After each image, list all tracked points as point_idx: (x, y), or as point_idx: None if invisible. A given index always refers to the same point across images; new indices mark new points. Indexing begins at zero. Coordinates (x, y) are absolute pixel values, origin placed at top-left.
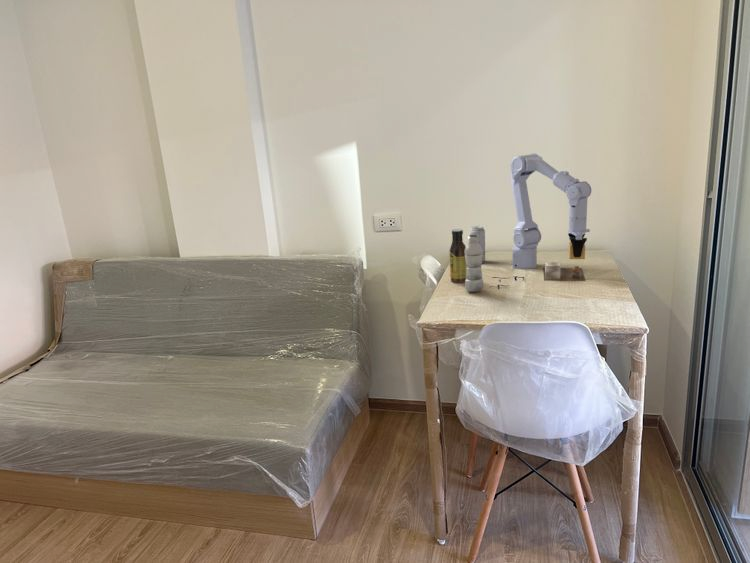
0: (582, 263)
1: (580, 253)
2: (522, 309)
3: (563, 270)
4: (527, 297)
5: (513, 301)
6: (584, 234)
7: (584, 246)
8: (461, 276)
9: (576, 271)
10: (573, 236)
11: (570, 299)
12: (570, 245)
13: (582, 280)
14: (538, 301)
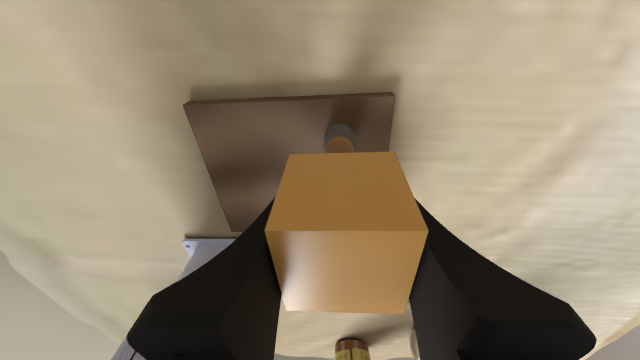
0: (61, 90)
1: (420, 208)
2: (609, 267)
3: (243, 176)
4: (509, 258)
5: (530, 281)
6: (227, 322)
7: (423, 227)
8: (368, 357)
9: (353, 149)
10: (266, 353)
11: (590, 158)
12: (403, 312)
13: (388, 110)
14: (559, 238)
